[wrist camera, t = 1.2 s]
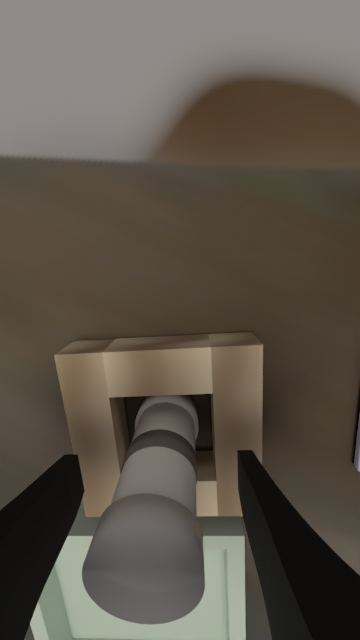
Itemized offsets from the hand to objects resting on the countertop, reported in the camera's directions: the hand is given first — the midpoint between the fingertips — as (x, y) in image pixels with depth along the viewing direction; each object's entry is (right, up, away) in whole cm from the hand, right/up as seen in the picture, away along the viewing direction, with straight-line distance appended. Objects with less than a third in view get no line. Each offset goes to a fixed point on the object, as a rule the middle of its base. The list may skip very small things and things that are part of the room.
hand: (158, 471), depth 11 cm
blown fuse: (0, +1, +4) cm, 4 cm away
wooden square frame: (0, +1, +4) cm, 4 cm away
